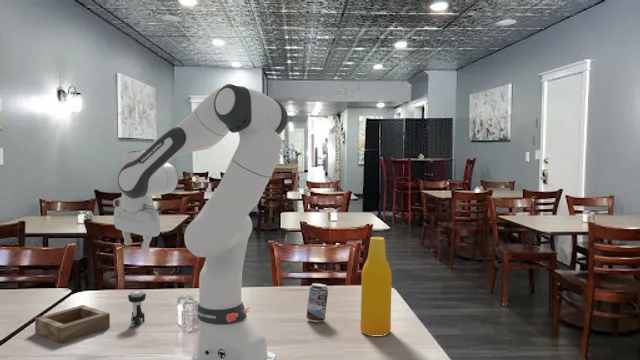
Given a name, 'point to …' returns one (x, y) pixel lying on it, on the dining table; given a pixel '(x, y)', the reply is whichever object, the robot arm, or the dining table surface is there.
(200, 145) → the robot arm
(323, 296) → the beverage can
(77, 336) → the wooden tray
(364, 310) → the beer bottle
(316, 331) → the dining table surface
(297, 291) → the dining table surface
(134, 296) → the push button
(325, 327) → the dining table surface
